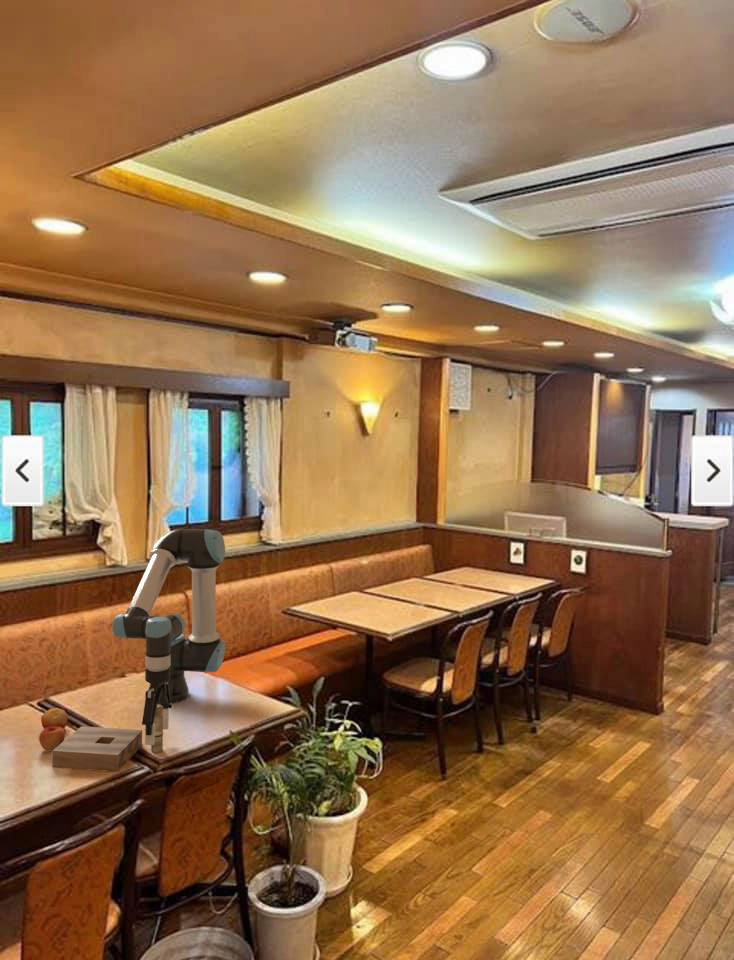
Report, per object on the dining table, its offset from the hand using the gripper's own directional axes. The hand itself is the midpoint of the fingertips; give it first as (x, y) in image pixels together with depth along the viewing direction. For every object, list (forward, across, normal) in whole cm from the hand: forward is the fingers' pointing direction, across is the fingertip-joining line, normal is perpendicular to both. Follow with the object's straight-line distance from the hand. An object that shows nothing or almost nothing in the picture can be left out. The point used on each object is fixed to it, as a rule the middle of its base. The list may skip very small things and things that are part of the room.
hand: (157, 736), depth 220 cm
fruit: (+5, -10, -39) cm, 41 cm away
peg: (+5, 0, 0) cm, 5 cm away
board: (+5, +6, -16) cm, 18 cm away
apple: (+5, +4, -32) cm, 33 cm away
